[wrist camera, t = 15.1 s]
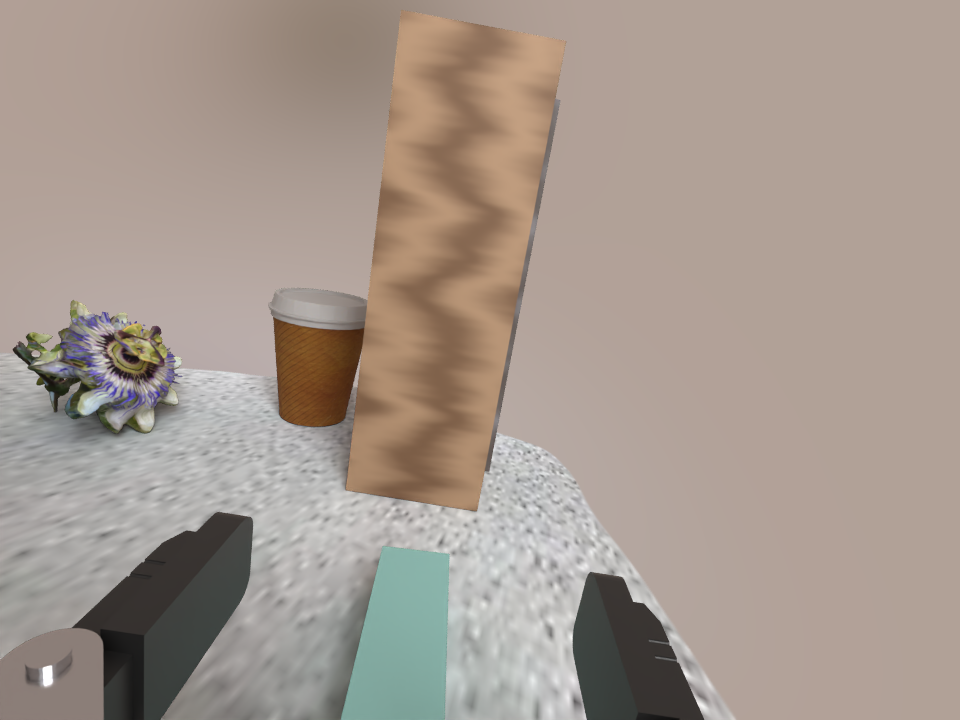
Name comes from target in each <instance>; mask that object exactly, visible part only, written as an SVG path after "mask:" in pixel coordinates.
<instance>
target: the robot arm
mask: <svg viewBox="0 0 960 720" xmlns="http://www.w3.org/2000/svg"><path fill="white" fill-rule="evenodd" d="M252 534H253V521H252V518H251V517H247V516H241V515H234V514H228V513H222V512H217V513H215V514H214V515H213V516H212V517H211V518H210V519H209V520H208V521H207V522H206V523H205V524H204V525H203V526H202V527H201V528H200V529H199V530H198V531H197V532H193V531H185V532H183V533H181V534H179V535H177V536H175V537H173V538H171V539H169V540H167V541H165V542H163V543H162V544H161V545H160V546H159V547H158V548H157V549H156V550H154V551H153V552H152V553H151V554H150V555H149V556H148V557H147V558H146V559H145V562H144V563H143V562H142V563H141V564H139V565H138V566H137V567H136V568H135V569H134V570H133V571H132V572H131V574H130V576H129V577H128V576H127V577H126V578H125V579H123V580H122V581H121V582H120V583H119V584H118V585H117V586H116V587H115V588H114V589H113V590H112V591H111V592H110V593H109V594H107V595H106V596H105V597H104V598H103V599H102V600H101V601H100V602H99V603H98V604H97V605H96V606H95V607H94V608H93V609H91V610H90V611H89V612H88V613H87V614H86V615H85V616H84V617H83V618H82V619H81V620H80V621H79V622H78V623H77V624H75V625H74V626H73V627H72V628H69V629H61V630H56V631H52V632H49V633H45V634H42V635H40V636H37V637H35V638H33V639H31V640H29V641H27V642H25V643H23V644H21V645H20V646H18V647H16V648H15V649H14V650H12V651H11V652H9V653H8V654H7V655H6V656H5V657H4V658H3V659H1V661H0V720H160V719H161V718H162V716H163V715H164V714H165V712H166V711H167V709H168V708H169V706H170V705H171V703H172V702H173V700H174V699H175V697H176V696H177V694H178V693H179V691H180V690H181V688H182V687H183V686H184V684H185V683H186V681H187V680H188V678H189V677H190V675H191V674H192V672H193V671H194V669H195V668H196V666H197V665H198V663H199V662H200V661H201V659H202V658H203V656H204V655H205V653H206V652H207V650H208V649H209V647H210V646H211V644H212V643H213V641H214V640H215V638H216V637H217V636H218V634H219V633H220V631H221V630H222V628H223V627H224V625H225V624H226V622H227V621H228V619H229V618H230V616H231V615H232V613H233V612H234V611H235V609H236V608H237V606H238V605H239V603H240V601H241V600H242V598H243V595H244V593H245V591H246V588H247V585H248V581H249V576H250V565H251V549H252ZM573 654H574V660H575V665H576V670H577V674H578V679H579V684H580V689H581V694H582V699H583V703H584V708H585V713H586V718H587V720H704V718H703V715H702V713H701V711H700V709H699V707H698V704H697V702H696V700H695V698H694V696H693V693H692V691H691V689H690V687H689V684H688V682H687V680H686V678H685V676H684V673H683V671H682V669H681V667H680V664H679V663H677V658H676V656H675V653H674V651H673V649H672V647H671V646H669V640H668V638H667V636H666V633H665V631H664V629H663V627H662V625H661V622H660V621H659V620H658V619H657V618H656V617H655V615H654V614H653V613H652V612H651V611H650V610H649V609H648V608H647V606H646V605H645V604H643V603H637V602H633V600H632V598H631V595H630V593H629V590H628V588H627V585H626V583H625V581H624V579H623V578H622V577H619V576H613V575H606V574H600V573H594V572H590V573H589V574H588V576H587V579H586V582H585V586H584V590H583V594H582V598H581V602H580V605H579V609H578V613H577V617H576V621H575V625H574V631H573Z"/></svg>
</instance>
